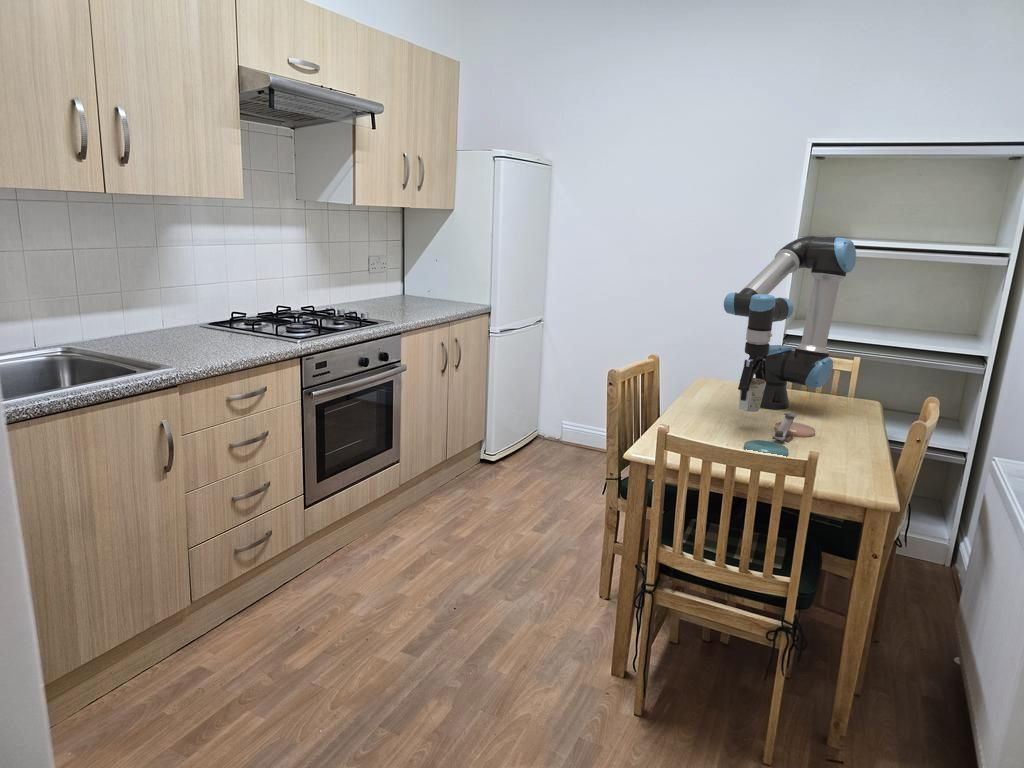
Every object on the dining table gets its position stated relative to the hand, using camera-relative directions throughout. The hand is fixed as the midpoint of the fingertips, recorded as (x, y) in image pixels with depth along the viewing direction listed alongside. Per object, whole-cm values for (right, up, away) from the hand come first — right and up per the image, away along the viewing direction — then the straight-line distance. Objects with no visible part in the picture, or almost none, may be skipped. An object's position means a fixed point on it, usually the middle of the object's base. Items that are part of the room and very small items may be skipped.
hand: (750, 405), depth 232 cm
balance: (+9, -11, -5) cm, 15 cm away
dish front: (-1, -14, -17) cm, 22 cm away
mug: (0, -2, +1) cm, 2 cm away
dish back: (+17, -9, +5) cm, 19 cm away
